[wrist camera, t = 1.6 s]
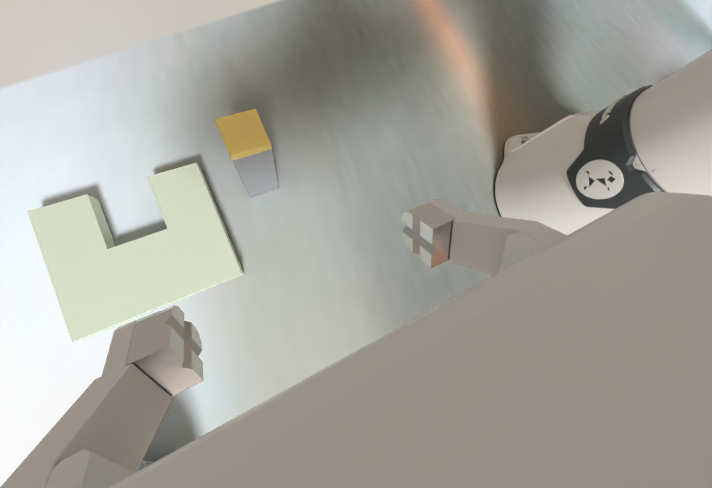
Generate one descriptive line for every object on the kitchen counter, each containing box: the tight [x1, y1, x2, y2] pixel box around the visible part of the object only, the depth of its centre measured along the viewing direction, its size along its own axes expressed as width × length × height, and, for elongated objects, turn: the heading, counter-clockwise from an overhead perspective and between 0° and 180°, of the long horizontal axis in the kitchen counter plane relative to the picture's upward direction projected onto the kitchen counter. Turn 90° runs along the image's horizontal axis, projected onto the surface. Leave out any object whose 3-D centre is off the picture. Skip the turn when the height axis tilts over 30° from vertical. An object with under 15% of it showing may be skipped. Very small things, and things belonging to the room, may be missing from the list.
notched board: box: [28, 163, 244, 342], centre depth 26 cm, size 14×12×2 cm
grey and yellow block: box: [215, 109, 279, 197], centre depth 26 cm, size 3×3×9 cm
